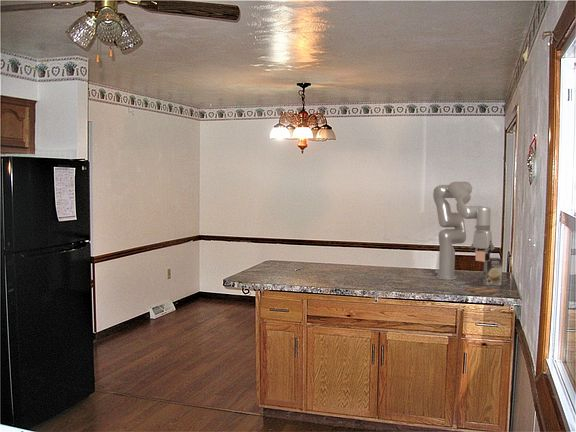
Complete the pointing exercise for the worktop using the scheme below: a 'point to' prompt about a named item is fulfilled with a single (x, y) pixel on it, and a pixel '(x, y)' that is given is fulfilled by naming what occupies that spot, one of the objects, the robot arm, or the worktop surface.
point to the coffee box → (492, 272)
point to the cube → (480, 256)
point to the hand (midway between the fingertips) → (482, 259)
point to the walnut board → (482, 290)
